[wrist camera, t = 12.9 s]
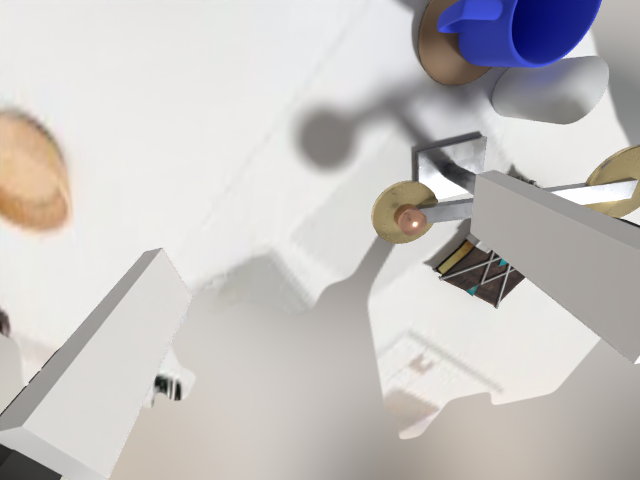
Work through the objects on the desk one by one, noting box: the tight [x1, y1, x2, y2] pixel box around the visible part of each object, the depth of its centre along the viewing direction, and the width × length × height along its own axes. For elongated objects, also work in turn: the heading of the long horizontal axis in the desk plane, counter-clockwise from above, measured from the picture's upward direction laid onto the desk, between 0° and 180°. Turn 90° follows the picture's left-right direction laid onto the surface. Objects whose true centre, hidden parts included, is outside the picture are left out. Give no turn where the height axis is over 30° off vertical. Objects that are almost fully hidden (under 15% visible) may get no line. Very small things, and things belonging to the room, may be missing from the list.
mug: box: [437, 0, 602, 68], centre depth 27 cm, size 8×12×10 cm
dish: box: [418, 0, 492, 85], centre depth 31 cm, size 11×11×1 cm
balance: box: [371, 136, 640, 244], centre depth 34 cm, size 8×30×16 cm, turn 102°
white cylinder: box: [492, 56, 609, 124], centre depth 32 cm, size 6×6×9 cm
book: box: [433, 177, 539, 309], centre depth 47 cm, size 22×17×5 cm
